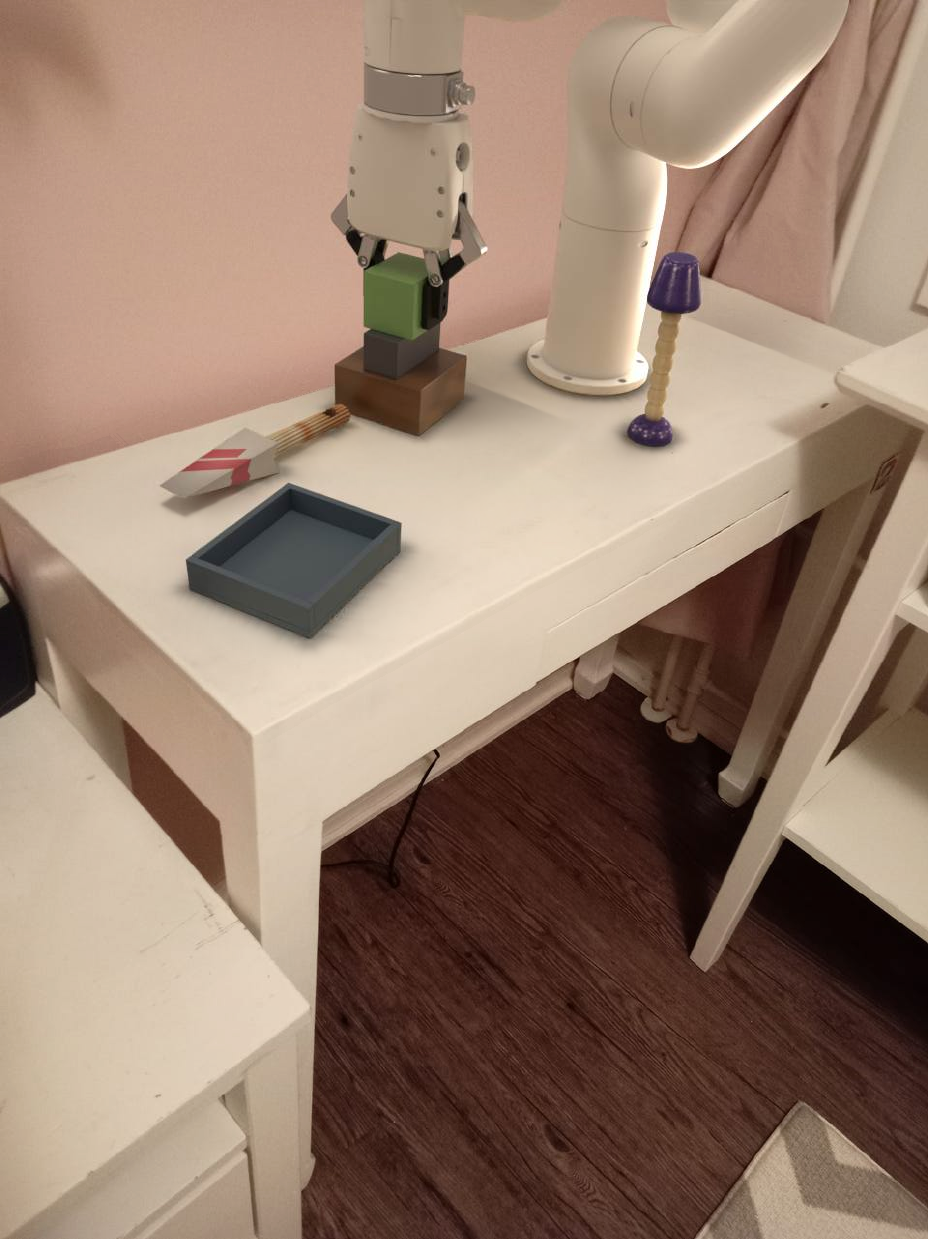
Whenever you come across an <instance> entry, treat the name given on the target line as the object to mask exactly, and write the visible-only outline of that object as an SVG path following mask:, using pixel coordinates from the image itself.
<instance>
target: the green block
mask: <svg viewBox="0 0 928 1239" xmlns="http://www.w3.org/2000/svg"><path fill="white" fill-rule="evenodd" d="M428 280H429V279H428V274H427V269H426V264H425V259H424V257H419V256H415V255H411V254H408V253H404V252H396V253H395V254H392V255H391V256H389V257H386V259H385V260H383V261H382V262H380V263H378V264H376V265H374V266H372V267H371V268H369V269H367V270H365V271H364V297H363V327H364V328H366V329H368V330H370V329H373V330H377V331H380V332H384V333H387V334H391V335H394V336H398V337H401V338H405V339H408V340H414V339H415V338H417V337H418V336H420V335H421V334H423V333H424V332H425V331H427V330H425V329H423V328H422V327H421V317H422V294H423V286H424V285H425V284H427V283H428Z"/></svg>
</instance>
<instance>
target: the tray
mask: <svg viewBox="0 0 928 1239" xmlns="http://www.w3.org/2000/svg"><path fill="white" fill-rule="evenodd" d="M401 547H402V522H401V521H398V520H395V519H393V518H390V517H386V516H384V515H381V514H378V513H376V512H372V511H370V510H367V509H364V508H362V507H359V506H356V505H353V504H350V503H348V502H345V501H342V500H338V499H336V498H333V497H330V496H328V495H325V494H322V493H319V492H317V491H313V490H311V489H308V488H305V487H302V486H299V485H297V484H294V483H290V482H286V483H285V484H284V485H283V486H282V487H281V488H279V489H277V491H275V492H274V493H272V494H271V495H270V496H268V497H267V498H266V499H264V500H263V501H261V502H260V503H259V504H258V505H256V506H255V507H253V508H252V509H251V510H250V511H249V512H247V513H245V515H243V516H241V517H240V518H239V519H238V520H236V521H235V522H234V523H232V524H231V525H230V526H229V527H227V528H226V529H224V530H223V531H221V532H220V533H219V534H218V535H216V536H215V537H214V538H213V539H211V540H210V541H208V542H207V543H206V544H204V545H203V546H202V547H200V548H199V549H198V550H196V551H195V552H193V553H192V554H191V555H190V556H188V557H187V558H186V559H185V564H186V572H187V573H186V574H187V580H188V589H189V590H191V591H193V592H195V593H198V594H200V595H203V596H204V597H208V598H210V599H213V600H215V601H217V602H220V603H222V604H224V605H226V606H229V607H232V608H234V609H236V610H239V611H242V612H244V613H247V614H249V615H251V616H253V617H256V618H259V619H261V620H263V621H266V622H268V623H271V624H274V625H276V626H278V627H280V628H282V629H285V630H287V631H290V632H293V633H295V634H298V635H300V636H302V637H305V638H307V639H312V638H313V637H314V635H315V634H317V633H318V632H319V631H320V630H321V629H322V628H323V627H324V626H325V625H326V624H327V623H328V622H329V621H330V620H331V619H332V618H333V617H334V616H335V615H336V614H338V612H340V611H341V609H343V608H344V607H345V605H346V604H348V602H350V601H351V600H352V599H353V598H354V597H355V596H356V595H357V594H358V593H359V592H360V591H361V590H362V589H363V588H364V587H365V586H366V585H367V584H368V583H369V582H370V581H371V580H372V579H373V578H374V577H376V575H377V574H379V573H380V571H382V570H383V569H384V568H385V567H386V566H387V565H388V564H389V562H391V561H392V560H393V559H394V558H395V557H396V556H397V555H398V554H399V553H400V552H401V551H402V550H401V549H402V548H401Z"/></svg>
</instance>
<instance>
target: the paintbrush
mask: <svg viewBox="0 0 928 1239" xmlns="http://www.w3.org/2000/svg"><path fill="white" fill-rule="evenodd" d="M348 411H349V410H348V409H347V407H346V406H344V405H342V404H337V405H335V404H334V405H332V406H330V407H328V408H326V409H325V410H323V411H320V412H318V413H315V414H313V415H311V416H309V417H306V418H305V419H302V420H300V421H297V422H296V423H293V424H291V425H289V426H287V427H284V428H281V429H280V430H277V431H275V432H272V433H270V434H268V435H266V436H264V435H263V434H260V433H258V432H256V431H255V430H252V429H249V428H247V427H244V428H242V429H240V430H239V431H238V432H237V433H235V434H233V435H232V436H230V437H229V438H227V439H226V440H224V441H223V442H222V443H220V444H219V445H217V446H216V447H214V448H212V449H211V450H210V451H208V452H206V453H205V454H204V455H202V456H200V457H199V458H198V459H196V460H195V461H193V462H192V463H190V464H188V465H187V466H185V467H184V468H183V469H181V470H180V471H178V472H177V473H176V474H174V475H173V476H171V477H169V478H167V479H166V480H164V482H162V483H161V484H159V485H158V486H159V487H160V488H162V489H164V490H166V491H168V492H170V493H172V494H173V495H176V496H179V497H180V498H182V499H187V498H191V497H194V496H195V497H196V496H199V495H203V494H205V493H209V492H213V491H217V490H221V489H224V488H227V487H231V486H235V485H239V484H242V483H246V482H250V481H252V480H256V479H260V478H264V477H268V476H271V475H275V474H278V473H280V469H279V467H278V465H277V462H276V461H275V458H276V457H277V456H279V455H282V454H284V453H286V452H288V451H290V450H292V449H294V448H296V447H297V446H298V447H299V446H301V445H302V444H304V443H307V442H309V441H310V440H311V441H312V440H313V439H315V438H317V437H319V436H321V435H324V434H326V433H328V432H330V431H331V430H333V429H335V428H336V429H337V428H339V427H341V426H343V425H345V424H347V423H348V422H349V421H350V419H351V414H350V412H348Z"/></svg>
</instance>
